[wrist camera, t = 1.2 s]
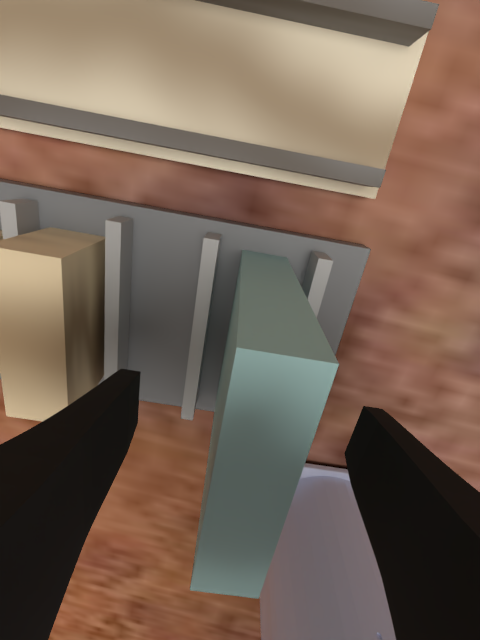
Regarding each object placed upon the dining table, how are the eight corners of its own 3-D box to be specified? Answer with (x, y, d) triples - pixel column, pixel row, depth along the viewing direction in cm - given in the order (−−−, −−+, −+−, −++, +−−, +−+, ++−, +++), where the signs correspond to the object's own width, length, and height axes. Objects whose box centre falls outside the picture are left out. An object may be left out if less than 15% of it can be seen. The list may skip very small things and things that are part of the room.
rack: (308, 414, 19) (316, 446, 17) (-26, 363, 18) (-64, 390, 16) (363, 244, 15) (383, 257, 13) (-60, 167, 14) (-119, 166, 12)
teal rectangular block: (253, 402, 18) (258, 598, 10) (216, 396, 18) (189, 590, 9) (286, 257, 15) (339, 364, 6) (242, 249, 14) (236, 347, 6)
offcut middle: (106, 371, 17) (68, 425, 14) (58, 364, 17) (6, 415, 13) (108, 237, 14) (60, 258, 11) (50, 227, 14) (-18, 244, 11)
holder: (366, 197, 14) (389, 201, 12) (-7, 126, 14) (-58, 116, 11) (419, 25, 12) (460, -10, 10) (-29, -74, 11) (-100, -137, 9)
